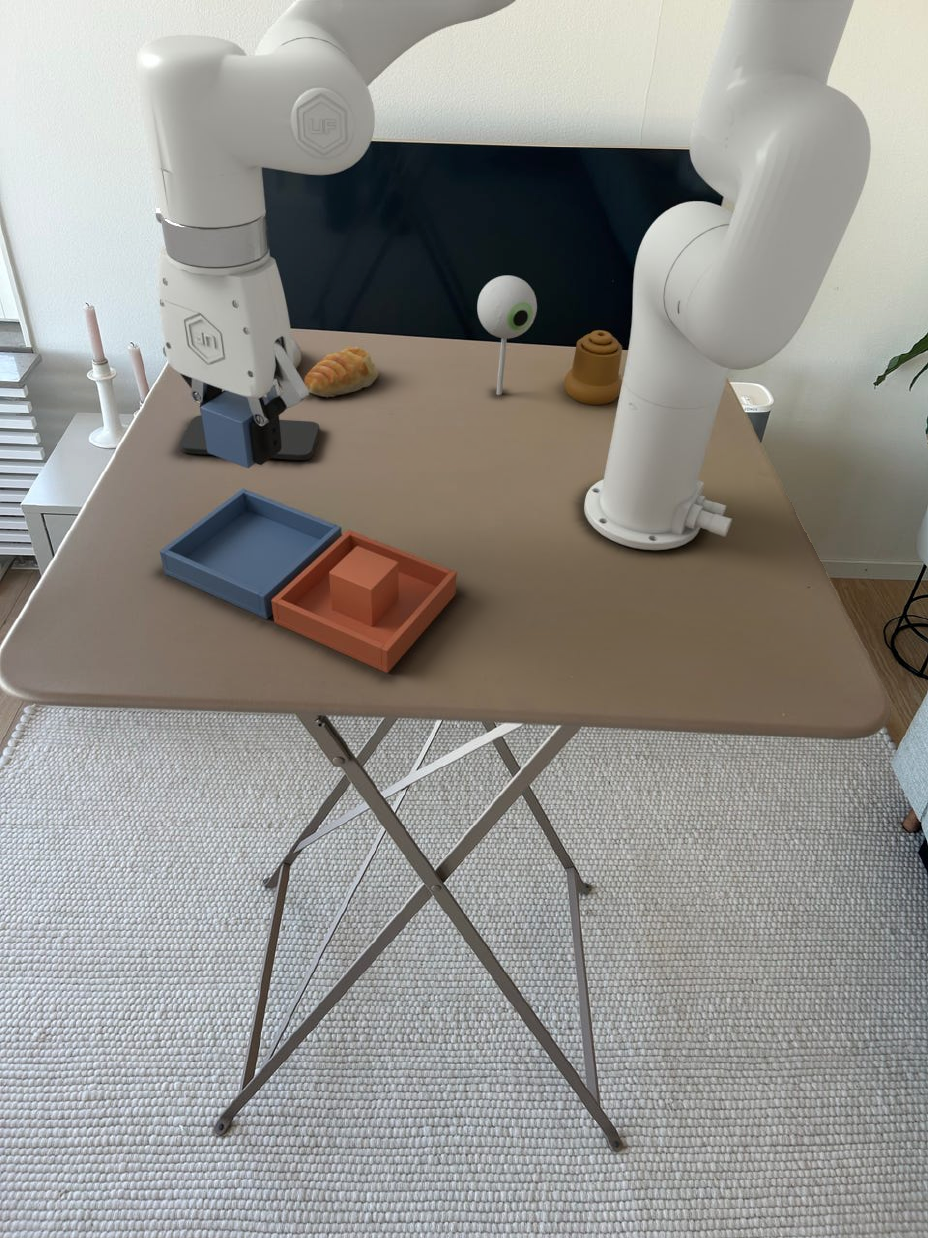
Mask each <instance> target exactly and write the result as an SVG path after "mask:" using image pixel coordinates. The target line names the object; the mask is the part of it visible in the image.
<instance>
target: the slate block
mask: <svg viewBox="0 0 928 1238" xmlns="http://www.w3.org/2000/svg"><path fill="white" fill-rule="evenodd" d="M225 391H226V390H225ZM263 401H264V404H265V405H266V404H267V403H269V402H268V398H267V396H265V395H264V396H263ZM200 409H201V412H200V415H202V421H203V427H204V433H205V439H206V445H207V452H208V453H210V454H212V455H211V456H215V457H217V458H220V459H223V460H225V461H228V462H230V463H233V464H236V465H238V466H241V467H243V468H246V469H249V468H251V467H252V466H254V465H255V464H256V463H255V462H254V460H253V452H252V444H251V436H250V428H249V426H250V423H252V422H253V421H254V418H253V415H252V412H251V408H250V405H249V402H248V399H247V397H243V396H240V395H237V394H234V393H231V392H229V391H226V392H224V393H223V394H221V395H219V396H218V397H216V398H215V399H213V400H211V401H210V402H208V403H206V404H205V405H203V406H202V407H200V406H199V410H200Z"/></svg>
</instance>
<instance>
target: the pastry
mask: <svg viewBox="0 0 928 1238" xmlns="http://www.w3.org/2000/svg"><path fill="white" fill-rule="evenodd" d="M378 377H379V376H378V370H377V368H376V365H375V363H374V362H373V360H372V358H371V356H370V353H368V352H367V351H366V350H365V349H363V348H361V347H360V346H355V347H353V346H351V345H350V346H349V345H348V346H347V347H346V348H344V349H343V350H340V351H336V352H332V353H328V354H327V355H324V356H323V358H322V359H321V360H320V361H319V362H317V363H316V364H315V365H314V366H313V367H312V368H311V369H310V370H309V371H308V373H307V374H306V375H305V376H304V384H305V385H306V387H307V389H308V391H309V394H312V395H316V396H319V397H325V398H329V397H331V398H334V397H336V396H339V395H342V396H343V395H347V394H350V393H354V392H357V391H359V390H362V389H363V388H367V387H370V386H372V384H374V382H375V381H376V379H377V378H378Z"/></svg>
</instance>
